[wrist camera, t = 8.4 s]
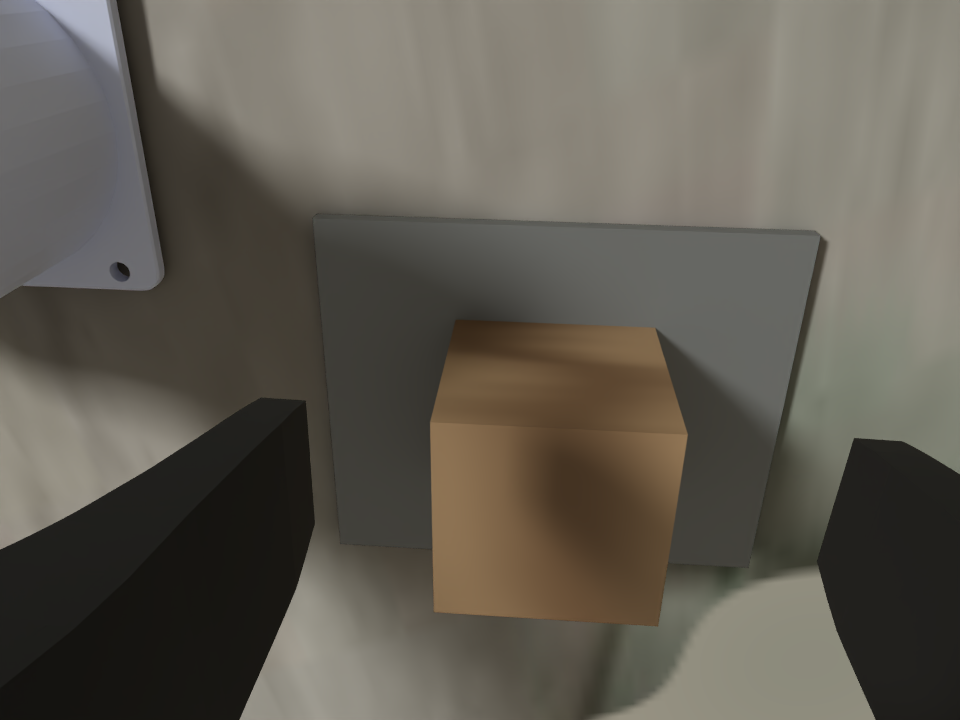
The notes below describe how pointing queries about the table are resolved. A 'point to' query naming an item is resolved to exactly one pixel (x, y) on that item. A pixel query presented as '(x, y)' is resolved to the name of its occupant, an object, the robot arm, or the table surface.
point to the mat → (560, 300)
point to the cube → (554, 472)
